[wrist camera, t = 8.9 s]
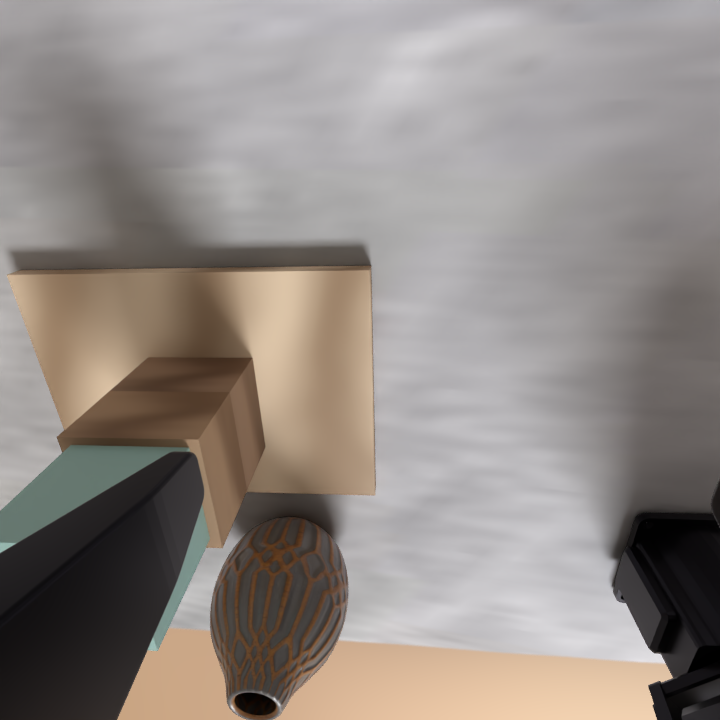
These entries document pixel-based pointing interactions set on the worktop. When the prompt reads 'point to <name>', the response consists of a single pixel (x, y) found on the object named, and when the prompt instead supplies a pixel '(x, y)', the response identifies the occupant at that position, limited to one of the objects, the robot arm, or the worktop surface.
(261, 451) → the tower base
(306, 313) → the beech board
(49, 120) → the worktop surface
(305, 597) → the vase
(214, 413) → the tower top
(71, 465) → the cube
